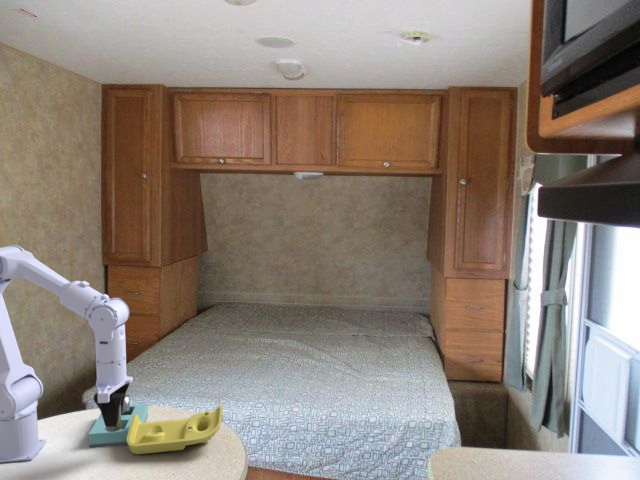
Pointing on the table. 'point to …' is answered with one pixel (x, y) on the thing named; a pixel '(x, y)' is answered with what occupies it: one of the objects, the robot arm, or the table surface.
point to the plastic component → (172, 432)
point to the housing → (105, 438)
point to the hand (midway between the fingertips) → (113, 421)
